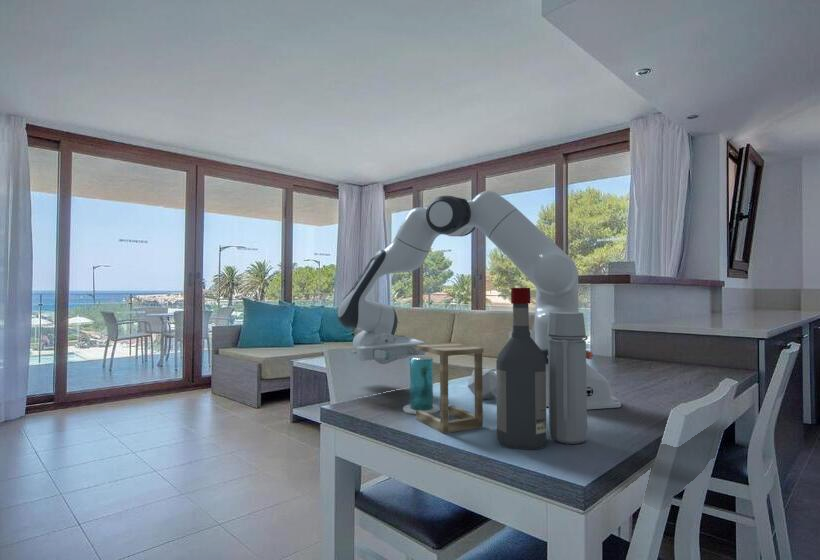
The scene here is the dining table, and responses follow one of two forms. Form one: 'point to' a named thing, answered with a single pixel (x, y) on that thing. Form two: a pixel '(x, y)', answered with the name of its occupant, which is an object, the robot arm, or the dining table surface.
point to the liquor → (521, 383)
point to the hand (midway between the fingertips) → (403, 353)
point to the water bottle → (567, 377)
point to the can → (421, 383)
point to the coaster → (431, 411)
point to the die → (485, 383)
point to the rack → (465, 417)
